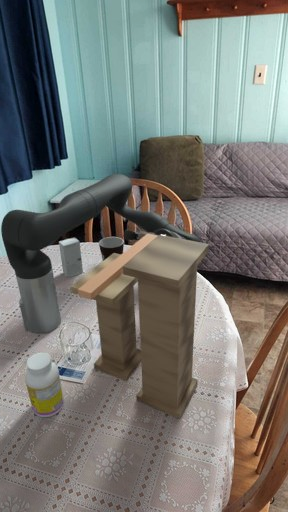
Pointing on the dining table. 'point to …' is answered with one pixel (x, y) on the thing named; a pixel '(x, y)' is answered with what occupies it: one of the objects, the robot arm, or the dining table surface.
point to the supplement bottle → (44, 385)
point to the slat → (113, 269)
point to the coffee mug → (111, 246)
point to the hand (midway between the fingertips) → (141, 237)
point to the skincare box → (71, 257)
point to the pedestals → (152, 321)
